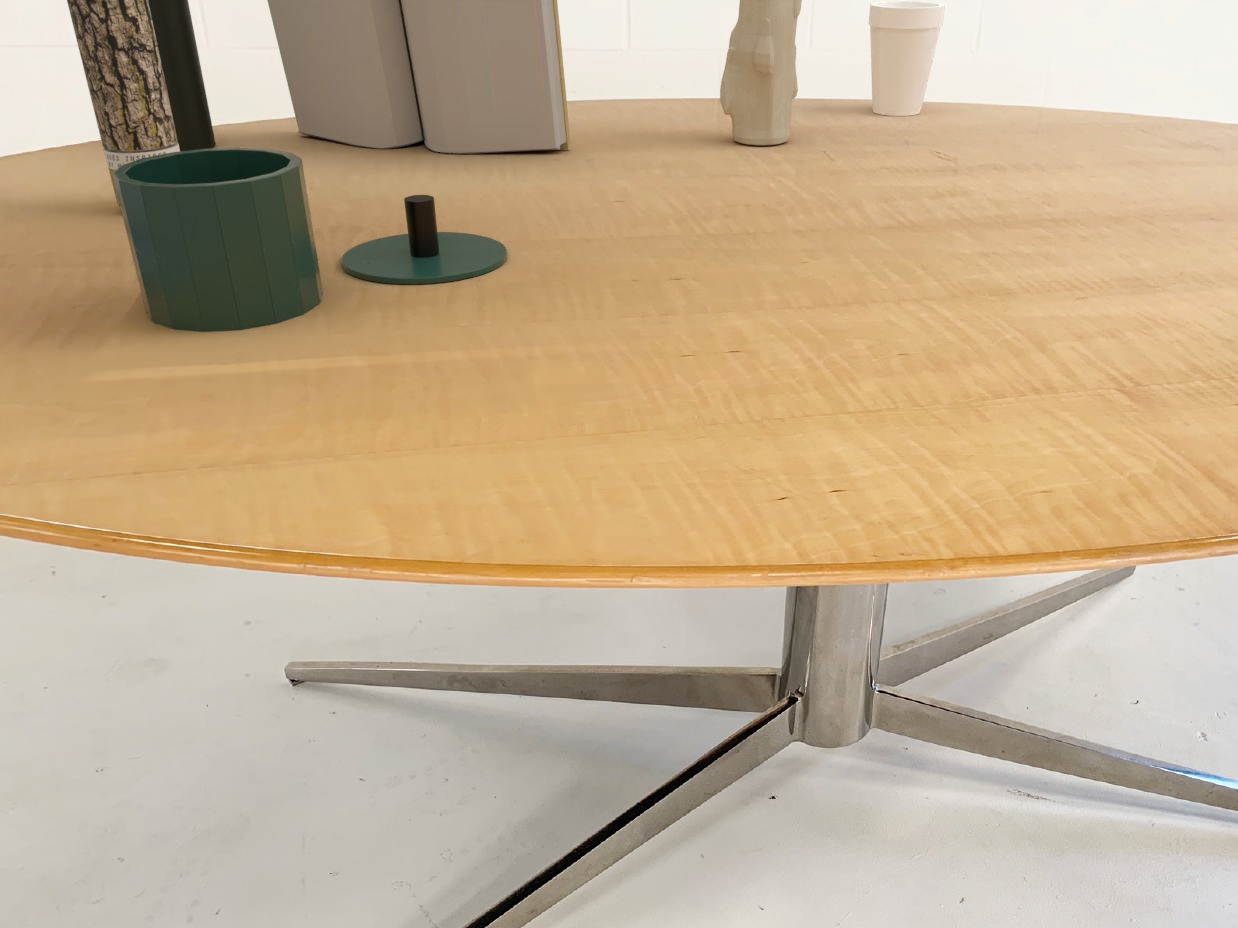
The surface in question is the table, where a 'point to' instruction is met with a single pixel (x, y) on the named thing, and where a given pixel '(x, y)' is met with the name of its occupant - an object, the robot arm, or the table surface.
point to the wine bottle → (182, 73)
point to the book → (426, 73)
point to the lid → (424, 252)
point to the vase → (761, 71)
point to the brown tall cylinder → (124, 79)
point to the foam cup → (902, 53)
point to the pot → (220, 237)
